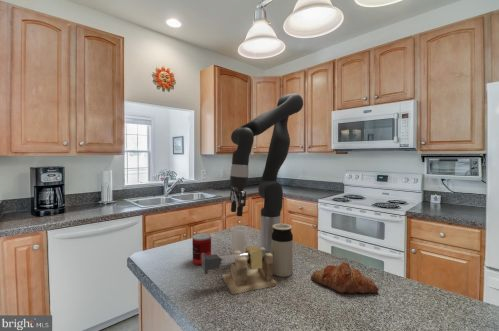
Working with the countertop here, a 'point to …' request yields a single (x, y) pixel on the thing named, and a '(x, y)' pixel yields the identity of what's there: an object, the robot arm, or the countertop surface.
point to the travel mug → (282, 250)
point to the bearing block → (249, 275)
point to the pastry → (344, 280)
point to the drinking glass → (239, 238)
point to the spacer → (254, 257)
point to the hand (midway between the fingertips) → (236, 213)
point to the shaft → (223, 260)
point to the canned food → (201, 247)
